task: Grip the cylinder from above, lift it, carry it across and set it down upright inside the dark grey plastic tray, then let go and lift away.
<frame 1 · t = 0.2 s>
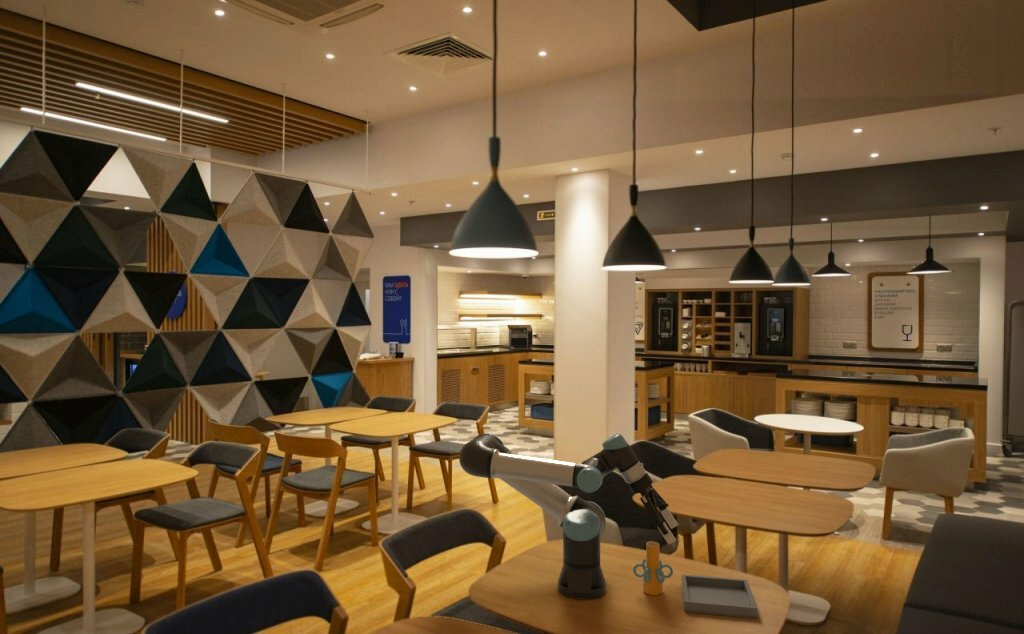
hand: (673, 534, 208), 15 cm above the table, tool tilted 35°, fingers open, 13 cm apart
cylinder: (653, 592, 200), on the table
tray: (717, 600, 194), on the table
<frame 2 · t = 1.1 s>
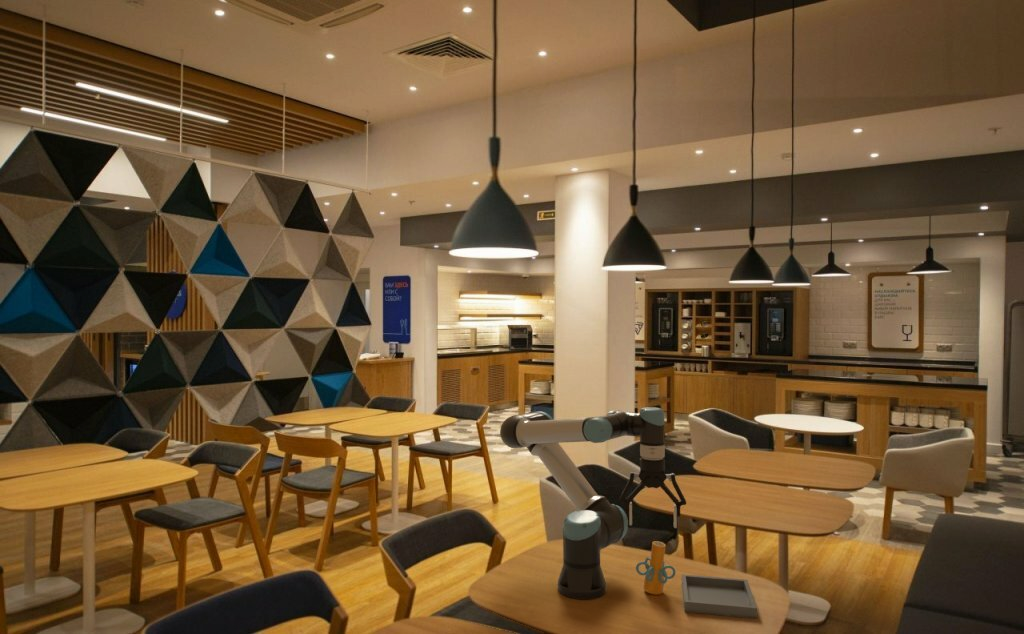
hand: (652, 525, 201), 21 cm above the table, tool pointing down, fingers open, 13 cm apart
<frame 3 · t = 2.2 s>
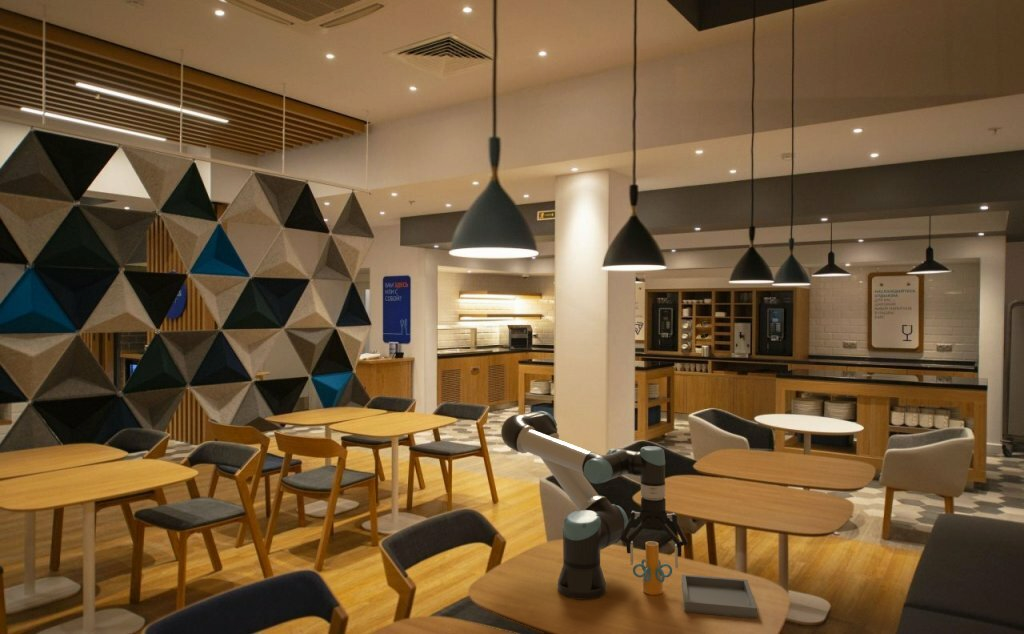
hand: (654, 565, 200), 8 cm above the table, tool pointing down, fingers open, 13 cm apart
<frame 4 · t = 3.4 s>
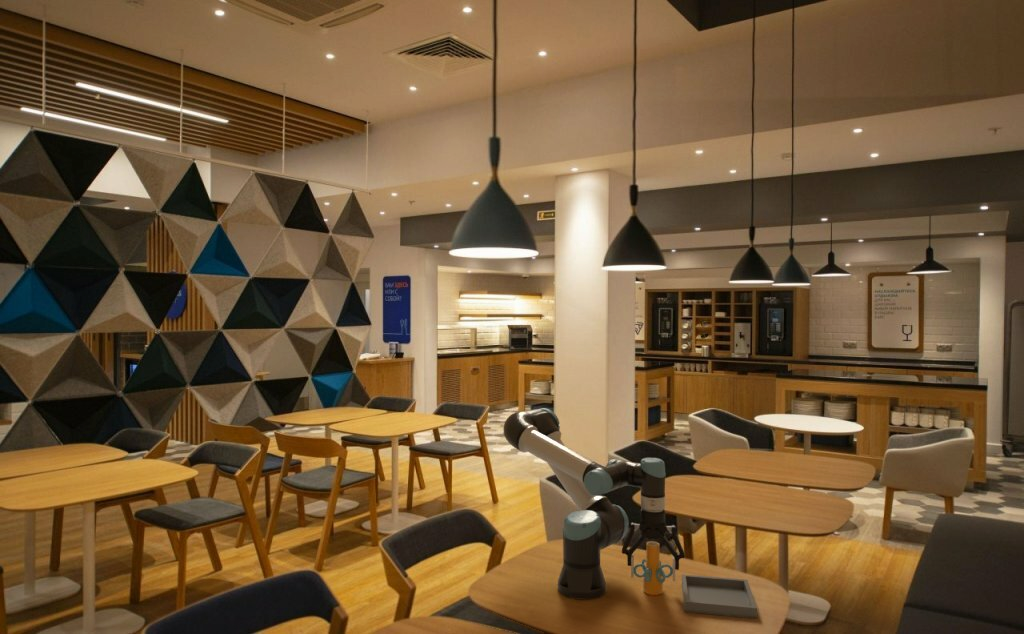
hand: (653, 577, 200), 4 cm above the table, tool pointing down, fingers closed on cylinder, 12 cm apart
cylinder: (653, 592, 200), on the table, touching gripper
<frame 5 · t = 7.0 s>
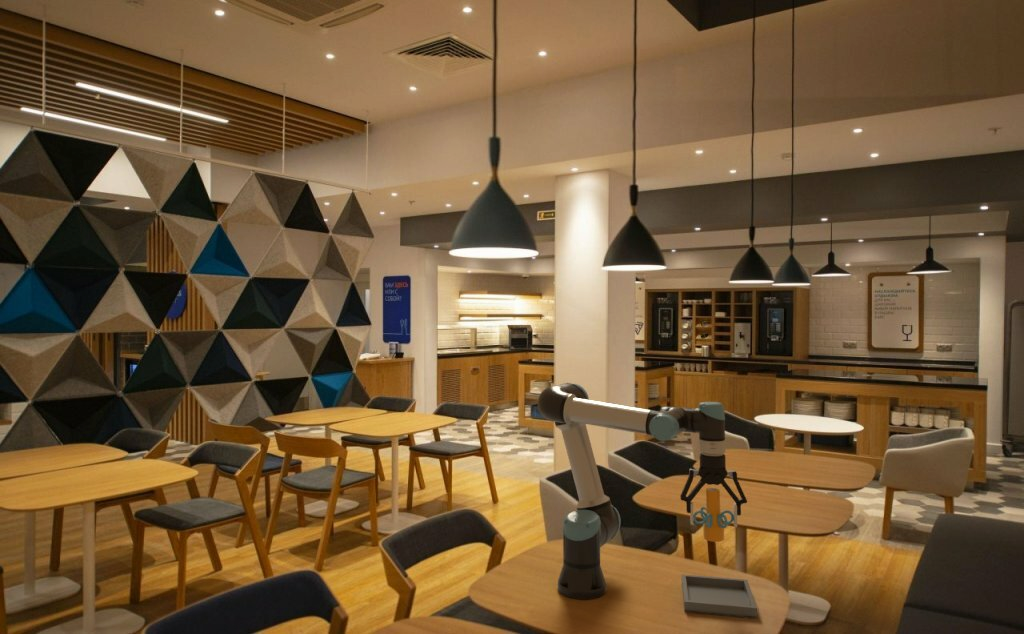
hand: (713, 524, 194), 23 cm above the table, tool pointing down, fingers closed on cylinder, 12 cm apart
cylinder: (714, 539, 194), point 18 cm above the table, touching gripper
when the fingers open (6 cm above the table, at t = 10.4 s): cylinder drops 1 cm, resting on tray.
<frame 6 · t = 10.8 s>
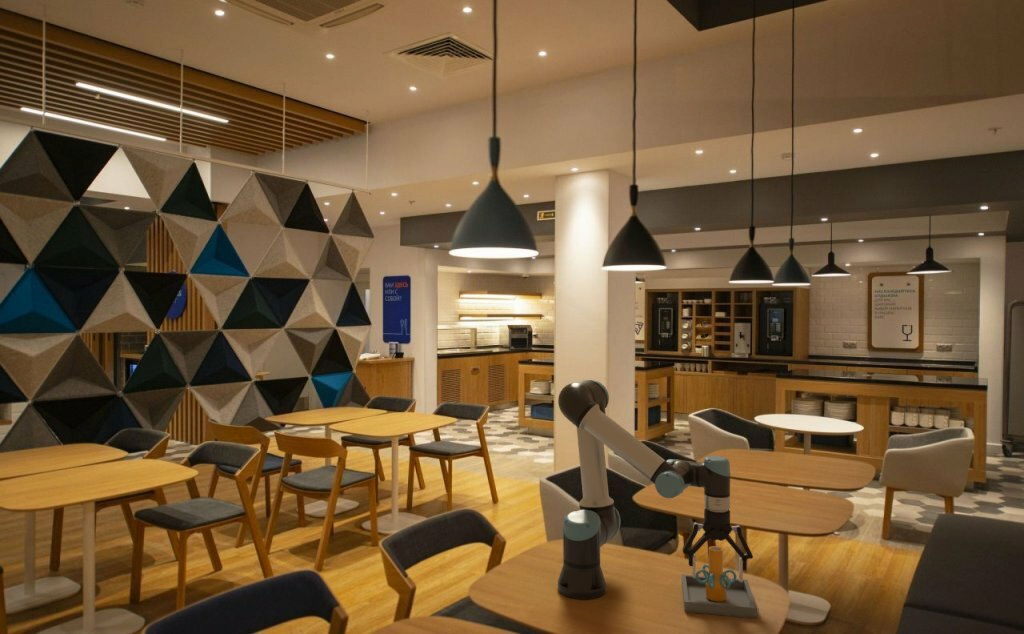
hand: (717, 578, 194), 7 cm above the table, tool pointing down, fingers open, 13 cm apart
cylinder: (716, 598, 194), resting on tray
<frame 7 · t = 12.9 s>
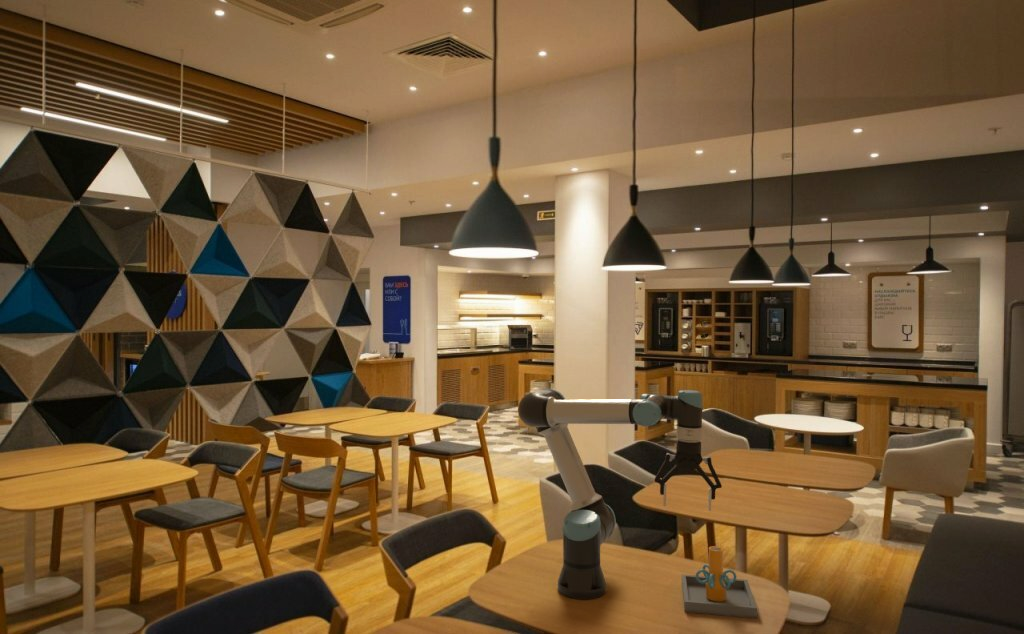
hand: (686, 507, 201), 26 cm above the table, tool pointing down, fingers open, 13 cm apart
nothing on the table moved.
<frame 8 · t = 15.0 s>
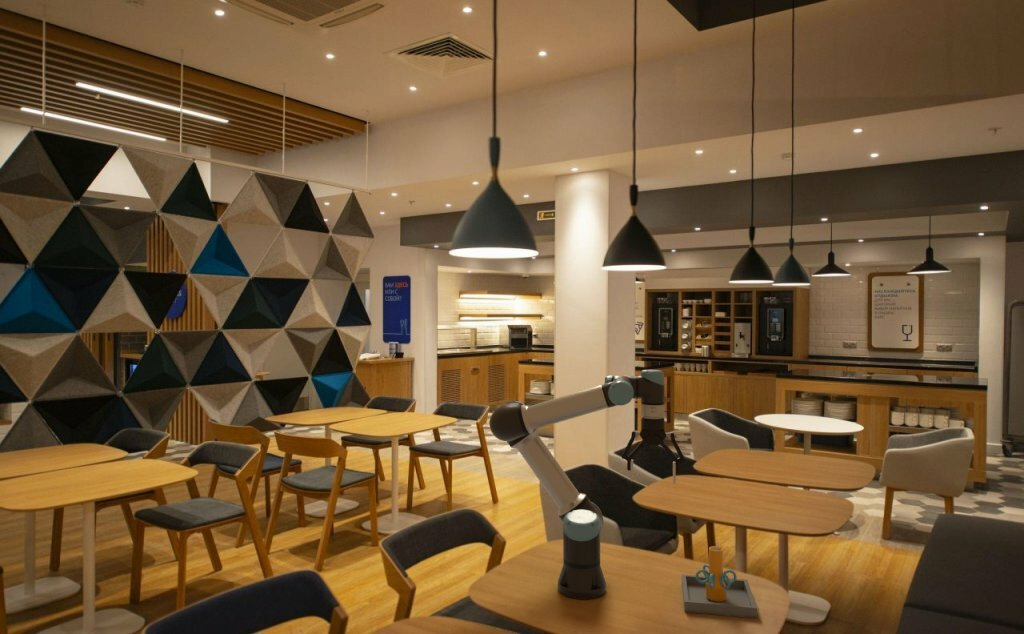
hand: (652, 481, 211), 32 cm above the table, tool pointing down, fingers open, 13 cm apart
nothing on the table moved.
at the end: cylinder inside the target area on the tray (0.3 cm from its centre), point 0.4 cm above the tray's base; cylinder tilted 0°; the gripper is holding nothing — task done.
